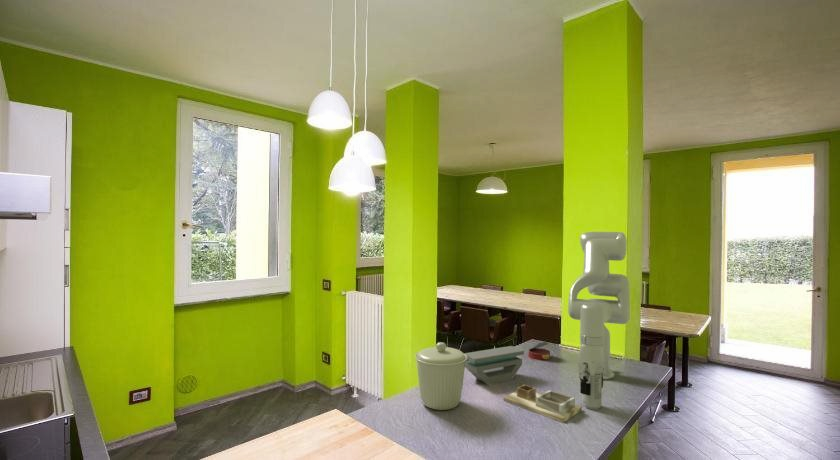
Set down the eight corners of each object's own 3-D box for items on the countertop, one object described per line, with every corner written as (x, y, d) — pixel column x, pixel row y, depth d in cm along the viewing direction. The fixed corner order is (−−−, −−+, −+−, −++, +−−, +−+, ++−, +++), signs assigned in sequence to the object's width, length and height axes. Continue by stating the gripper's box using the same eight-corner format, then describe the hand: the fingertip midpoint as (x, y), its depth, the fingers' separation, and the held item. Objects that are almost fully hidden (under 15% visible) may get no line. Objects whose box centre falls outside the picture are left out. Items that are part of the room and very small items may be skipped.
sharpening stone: (474, 387, 151) (474, 359, 151) (462, 381, 158) (462, 353, 158) (524, 377, 163) (524, 350, 163) (511, 371, 170) (511, 345, 170)
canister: (439, 389, 149) (439, 333, 150) (477, 404, 136) (478, 343, 137) (403, 403, 137) (404, 342, 137) (442, 421, 124) (442, 353, 124)
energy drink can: (587, 401, 140) (588, 358, 140) (604, 407, 135) (605, 363, 135) (578, 405, 136) (579, 361, 136) (595, 412, 131) (596, 366, 131)
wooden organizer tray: (524, 390, 149) (524, 379, 149) (581, 410, 132) (581, 397, 132) (503, 400, 140) (503, 388, 140) (562, 422, 124) (562, 409, 124)
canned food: (534, 369, 186) (524, 350, 186) (531, 360, 196) (522, 342, 196) (556, 360, 184) (546, 341, 184) (553, 351, 194) (543, 333, 194)
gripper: (592, 334, 144) (591, 381, 144) (569, 342, 133) (569, 393, 132) (613, 338, 139) (613, 387, 139) (592, 347, 127) (591, 401, 127)
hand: (591, 390), depth 135 cm, fingers open, 9 cm apart
